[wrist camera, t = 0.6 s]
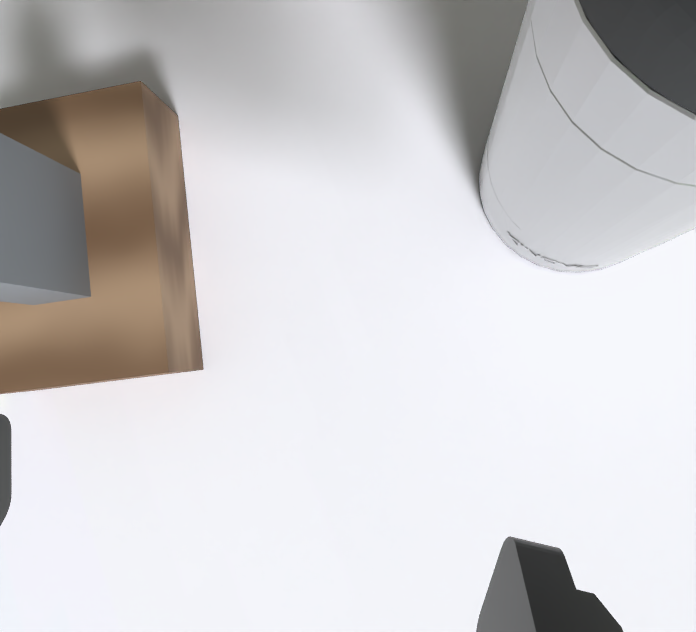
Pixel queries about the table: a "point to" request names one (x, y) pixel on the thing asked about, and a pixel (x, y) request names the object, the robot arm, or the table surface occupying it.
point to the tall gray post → (40, 228)
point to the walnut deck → (110, 246)
